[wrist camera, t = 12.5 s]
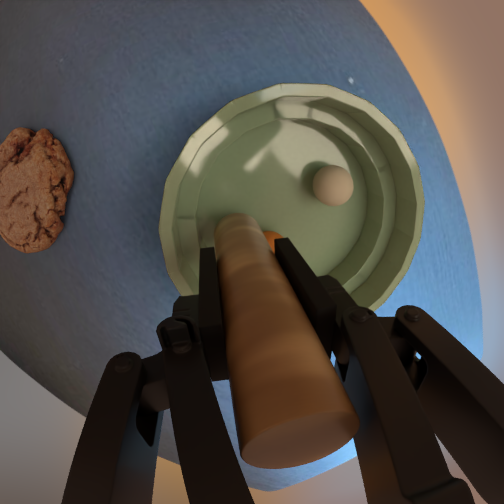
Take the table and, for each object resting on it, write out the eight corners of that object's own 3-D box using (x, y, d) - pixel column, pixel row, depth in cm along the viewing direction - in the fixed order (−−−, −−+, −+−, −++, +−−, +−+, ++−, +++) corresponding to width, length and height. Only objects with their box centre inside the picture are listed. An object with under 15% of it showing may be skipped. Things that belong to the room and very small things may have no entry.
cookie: (13, 255, 20) (-3, 269, 17) (-14, 150, 16) (-34, 154, 13) (93, 235, 21) (80, 249, 18) (66, 109, 17) (48, 108, 14)
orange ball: (283, 223, 22) (293, 237, 19) (284, 258, 23) (294, 276, 21) (244, 228, 22) (248, 242, 19) (247, 263, 23) (252, 282, 20)
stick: (258, 209, 19) (372, 395, 6) (262, 253, 20) (349, 452, 7) (210, 215, 19) (232, 429, 5) (216, 259, 20) (246, 476, 7)
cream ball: (342, 162, 21) (361, 167, 18) (342, 199, 22) (360, 209, 19) (306, 163, 20) (320, 168, 18) (307, 202, 22) (321, 212, 19)
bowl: (380, 100, 20) (426, 97, 14) (373, 286, 27) (404, 320, 21) (158, 107, 18) (139, 98, 13) (192, 315, 25) (191, 362, 20)
